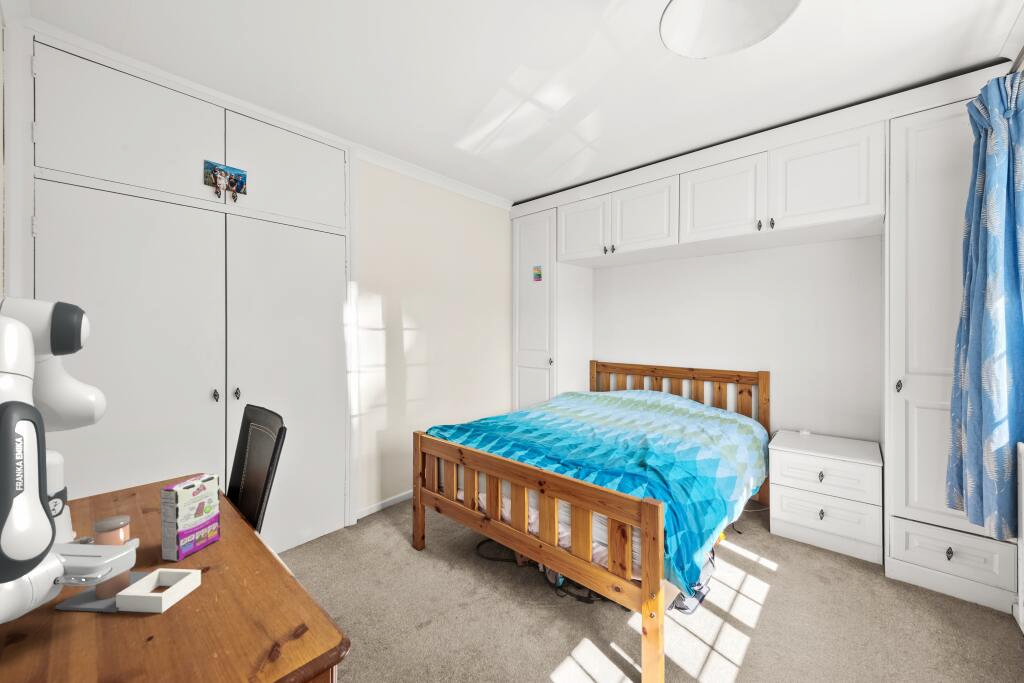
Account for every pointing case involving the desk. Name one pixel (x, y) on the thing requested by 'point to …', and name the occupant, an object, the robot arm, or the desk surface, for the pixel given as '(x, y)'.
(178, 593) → the frame
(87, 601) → the mat
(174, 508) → the candy bar box
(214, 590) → the desk surface
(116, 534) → the canister
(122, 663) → the desk surface
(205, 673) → the desk surface
